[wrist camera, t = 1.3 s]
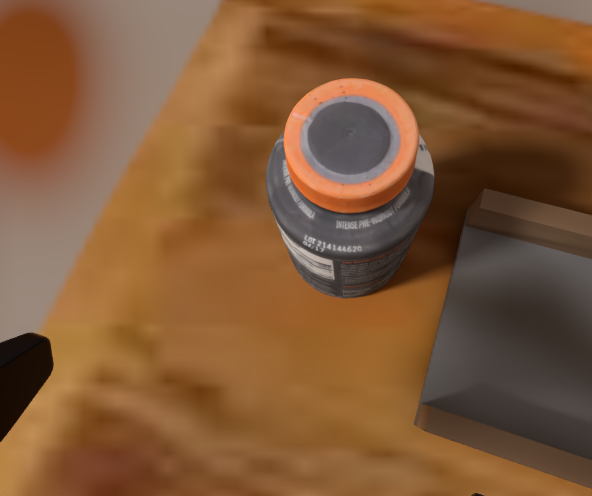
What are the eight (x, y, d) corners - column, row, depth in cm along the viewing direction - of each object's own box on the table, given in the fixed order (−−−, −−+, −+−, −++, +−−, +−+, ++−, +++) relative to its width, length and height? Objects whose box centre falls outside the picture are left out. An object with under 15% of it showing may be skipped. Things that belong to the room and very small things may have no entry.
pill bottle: (400, 189, 25) (450, 41, 14) (406, 299, 23) (468, 228, 12) (289, 192, 25) (254, 51, 14) (288, 300, 24) (246, 232, 13)
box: (669, 512, 20) (726, 535, 17) (414, 424, 21) (425, 431, 19) (696, 271, 22) (750, 255, 19) (466, 211, 24) (484, 188, 21)
